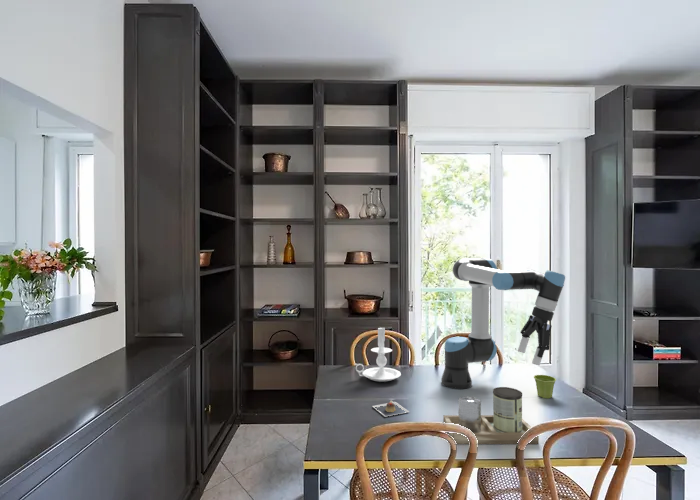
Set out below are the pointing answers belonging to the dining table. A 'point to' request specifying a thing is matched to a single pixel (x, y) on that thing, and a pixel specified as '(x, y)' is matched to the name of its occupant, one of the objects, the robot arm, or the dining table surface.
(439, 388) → the dining table surface
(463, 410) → the clear glass jar
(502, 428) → the coffee can
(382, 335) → the candlestick
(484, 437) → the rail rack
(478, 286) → the robot arm
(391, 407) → the dessert
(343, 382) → the dining table surface
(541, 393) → the plant pot
